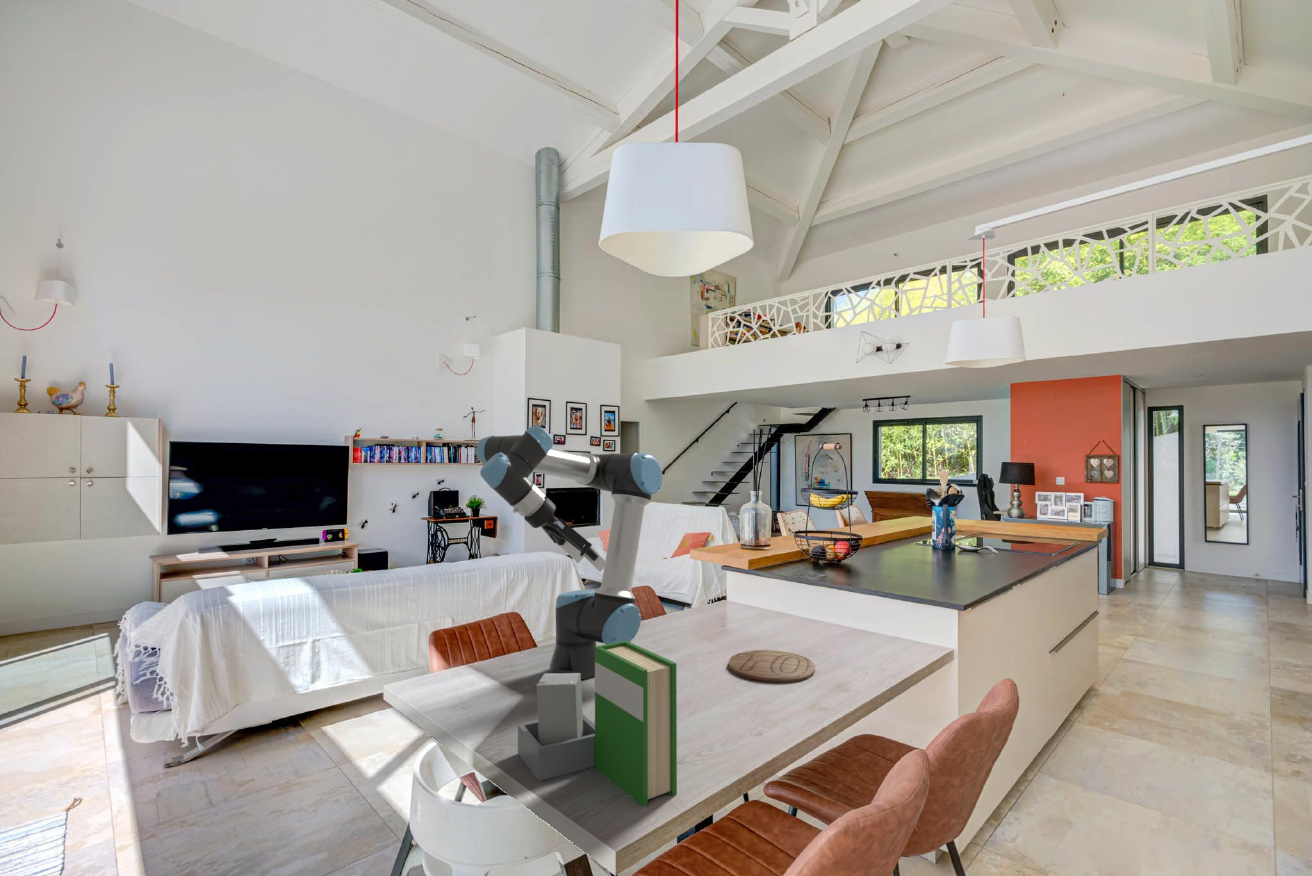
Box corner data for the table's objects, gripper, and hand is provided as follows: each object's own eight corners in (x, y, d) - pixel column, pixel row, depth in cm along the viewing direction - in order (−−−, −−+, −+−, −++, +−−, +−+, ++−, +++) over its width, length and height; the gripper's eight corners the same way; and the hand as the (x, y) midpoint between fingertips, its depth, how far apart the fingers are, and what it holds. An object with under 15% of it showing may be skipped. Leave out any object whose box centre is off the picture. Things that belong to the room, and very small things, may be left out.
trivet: (721, 679, 176) (721, 672, 176) (736, 653, 200) (736, 647, 200) (812, 689, 169) (812, 681, 169) (817, 660, 193) (817, 654, 193)
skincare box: (583, 746, 132) (584, 671, 133) (577, 763, 125) (577, 683, 126) (544, 745, 133) (544, 670, 134) (535, 761, 126) (535, 682, 126)
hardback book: (676, 794, 116) (676, 663, 116) (643, 807, 111) (643, 671, 112) (626, 757, 130) (626, 640, 131) (594, 767, 126) (594, 646, 127)
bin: (517, 753, 132) (517, 724, 132) (579, 738, 139) (579, 711, 139) (538, 781, 120) (538, 749, 120) (604, 763, 127) (604, 733, 127)
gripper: (508, 514, 161) (563, 567, 168) (541, 523, 139) (603, 583, 146) (528, 492, 163) (582, 545, 170) (563, 498, 142) (623, 558, 149)
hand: (592, 563), depth 158 cm, fingers open, 13 cm apart
